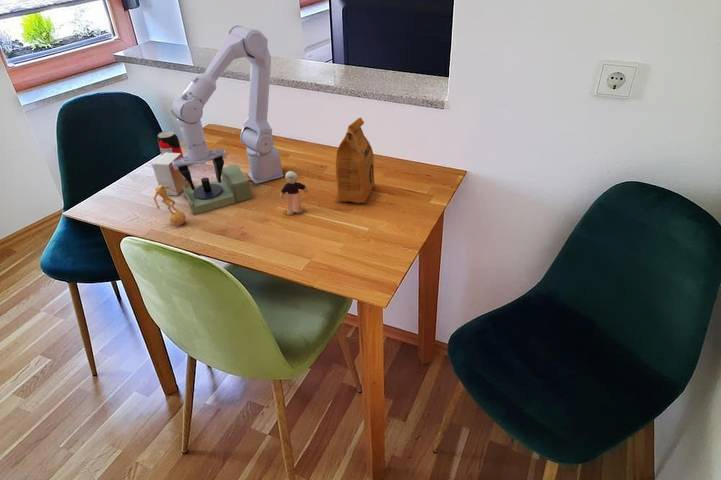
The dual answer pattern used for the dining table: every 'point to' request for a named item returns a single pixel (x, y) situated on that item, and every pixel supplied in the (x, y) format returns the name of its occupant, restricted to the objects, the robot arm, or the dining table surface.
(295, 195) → the grandmother figurine
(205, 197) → the lid
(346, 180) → the coffee package
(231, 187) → the green step block
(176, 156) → the small box
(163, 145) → the beverage can
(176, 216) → the figurine
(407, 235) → the dining table surface
